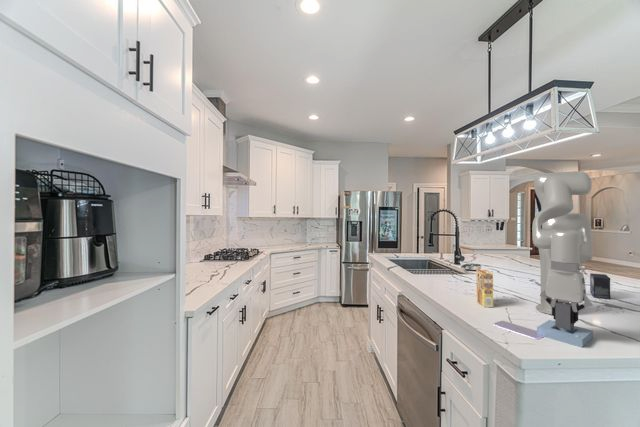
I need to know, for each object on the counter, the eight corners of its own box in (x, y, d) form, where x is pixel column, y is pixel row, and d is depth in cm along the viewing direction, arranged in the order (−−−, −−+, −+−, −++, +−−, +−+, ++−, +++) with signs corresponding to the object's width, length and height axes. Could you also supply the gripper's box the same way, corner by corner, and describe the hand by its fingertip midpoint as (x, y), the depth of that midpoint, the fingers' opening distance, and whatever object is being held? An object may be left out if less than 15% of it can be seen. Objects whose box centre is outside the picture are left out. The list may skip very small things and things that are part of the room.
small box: (589, 292, 153) (589, 272, 153) (606, 294, 149) (606, 274, 149) (592, 297, 144) (592, 276, 144) (611, 299, 140) (611, 278, 140)
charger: (559, 324, 102) (559, 300, 102) (574, 327, 99) (574, 303, 99) (555, 326, 100) (555, 302, 100) (570, 330, 96) (570, 305, 96)
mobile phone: (536, 338, 96) (491, 323, 109) (536, 341, 96) (491, 325, 109) (547, 333, 100) (502, 319, 113) (547, 336, 100) (502, 322, 113)
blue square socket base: (549, 326, 108) (549, 319, 108) (592, 337, 98) (593, 329, 98) (536, 334, 101) (536, 326, 101) (582, 347, 91) (582, 338, 91)
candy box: (493, 307, 129) (493, 273, 129) (483, 307, 129) (483, 272, 129) (485, 301, 138) (485, 269, 137) (475, 301, 138) (476, 269, 138)
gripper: (601, 269, 95) (601, 326, 94) (539, 262, 108) (539, 311, 108) (594, 272, 90) (594, 331, 90) (531, 264, 104) (531, 315, 104)
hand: (564, 320), depth 99 cm, fingers closed on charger, 4 cm apart
